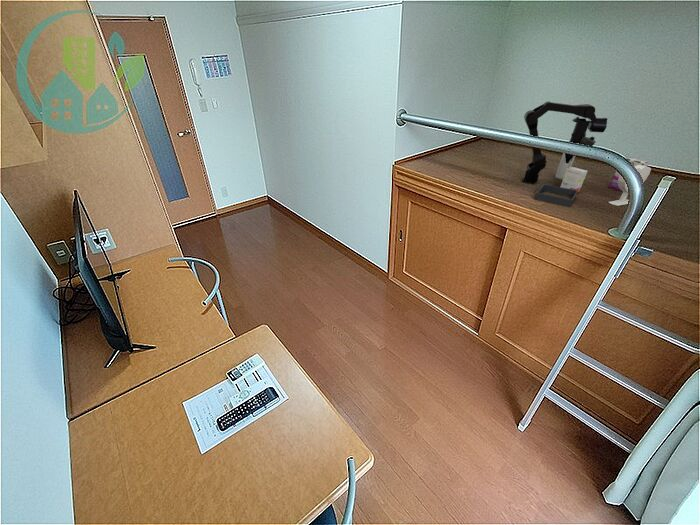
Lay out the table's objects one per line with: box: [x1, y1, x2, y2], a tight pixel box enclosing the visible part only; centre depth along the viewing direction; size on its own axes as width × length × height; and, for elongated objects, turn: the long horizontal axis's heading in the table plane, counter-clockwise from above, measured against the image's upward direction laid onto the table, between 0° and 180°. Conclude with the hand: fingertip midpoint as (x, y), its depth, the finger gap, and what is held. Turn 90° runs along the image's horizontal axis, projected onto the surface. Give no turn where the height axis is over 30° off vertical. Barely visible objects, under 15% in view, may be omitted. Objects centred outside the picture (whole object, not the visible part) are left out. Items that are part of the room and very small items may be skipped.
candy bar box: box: [608, 156, 650, 192], centre depth 171 cm, size 11×5×16 cm, turn 21°
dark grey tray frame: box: [534, 183, 579, 208], centre depth 166 cm, size 16×16×4 cm
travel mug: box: [554, 152, 576, 181], centre depth 186 cm, size 6×7×20 cm
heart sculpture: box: [608, 165, 652, 207], centre depth 157 cm, size 16×5×18 cm, turn 110°
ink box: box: [559, 166, 589, 194], centre depth 172 cm, size 9×5×12 cm, turn 30°
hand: (568, 161), depth 176 cm, fingers open, 9 cm apart
